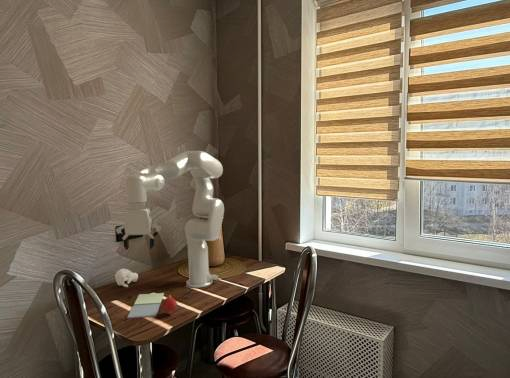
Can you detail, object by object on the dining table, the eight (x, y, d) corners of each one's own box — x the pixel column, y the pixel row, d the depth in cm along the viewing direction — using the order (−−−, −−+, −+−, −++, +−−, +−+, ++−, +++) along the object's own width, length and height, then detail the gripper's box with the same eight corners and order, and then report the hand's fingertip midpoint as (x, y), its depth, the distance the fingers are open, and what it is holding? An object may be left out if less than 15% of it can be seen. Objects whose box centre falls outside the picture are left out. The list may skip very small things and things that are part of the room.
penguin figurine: (113, 269, 189) (132, 264, 200) (113, 286, 190) (132, 281, 200) (122, 271, 186) (141, 266, 197) (122, 289, 186) (141, 283, 197)
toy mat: (159, 305, 167) (159, 303, 167) (155, 316, 156) (155, 315, 156) (133, 306, 166) (133, 305, 166) (127, 318, 155) (127, 316, 155)
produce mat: (163, 294, 179) (163, 292, 179) (160, 303, 168) (160, 302, 168) (139, 295, 178) (139, 294, 178) (134, 305, 167) (134, 304, 167)
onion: (159, 316, 156) (158, 297, 155) (167, 310, 161) (166, 291, 160) (172, 318, 153) (171, 298, 153) (180, 312, 159) (179, 293, 158)
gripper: (160, 204, 160) (162, 245, 161) (117, 205, 158) (119, 247, 160) (157, 206, 152) (160, 249, 154) (112, 208, 151) (114, 251, 153)
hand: (139, 248), depth 157 cm, fingers open, 9 cm apart
